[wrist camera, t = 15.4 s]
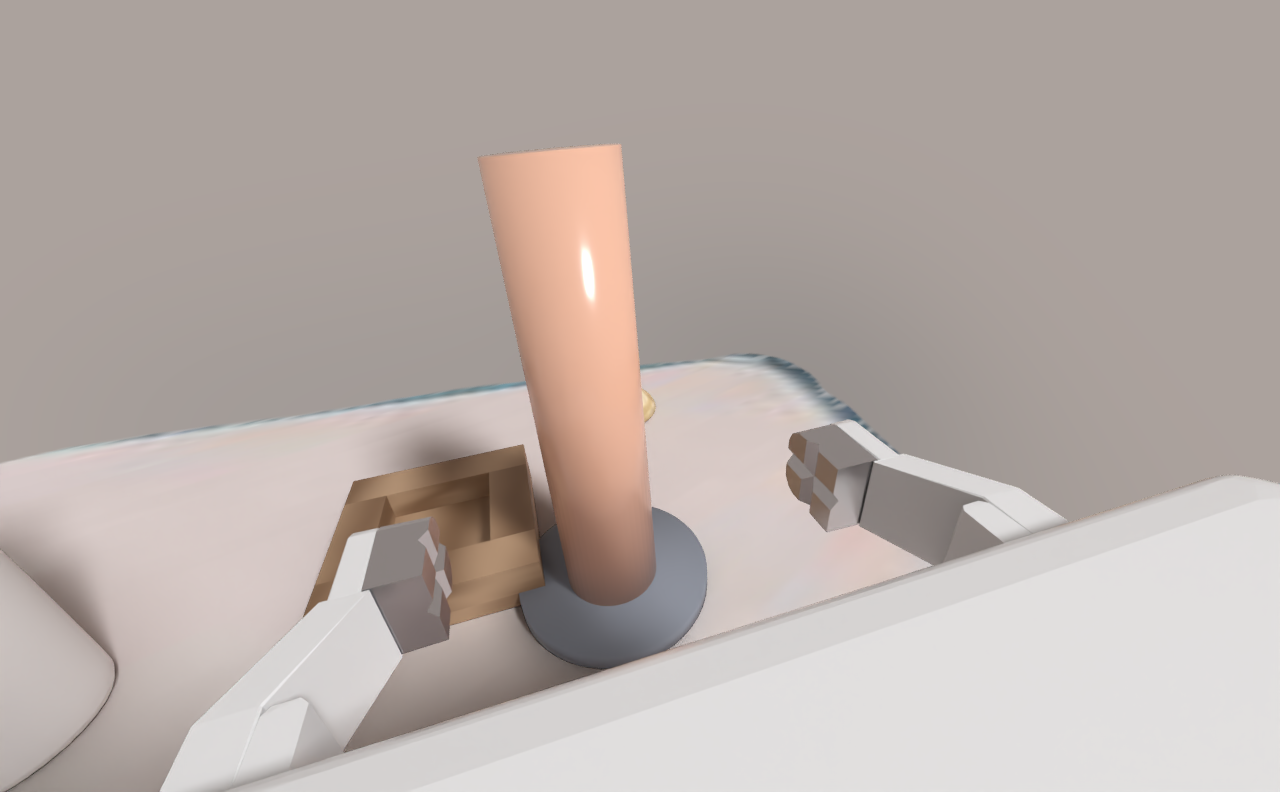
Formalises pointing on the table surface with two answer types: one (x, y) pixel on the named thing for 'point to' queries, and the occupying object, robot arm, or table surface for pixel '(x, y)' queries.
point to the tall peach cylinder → (579, 354)
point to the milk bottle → (43, 676)
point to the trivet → (629, 626)
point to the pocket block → (456, 526)
